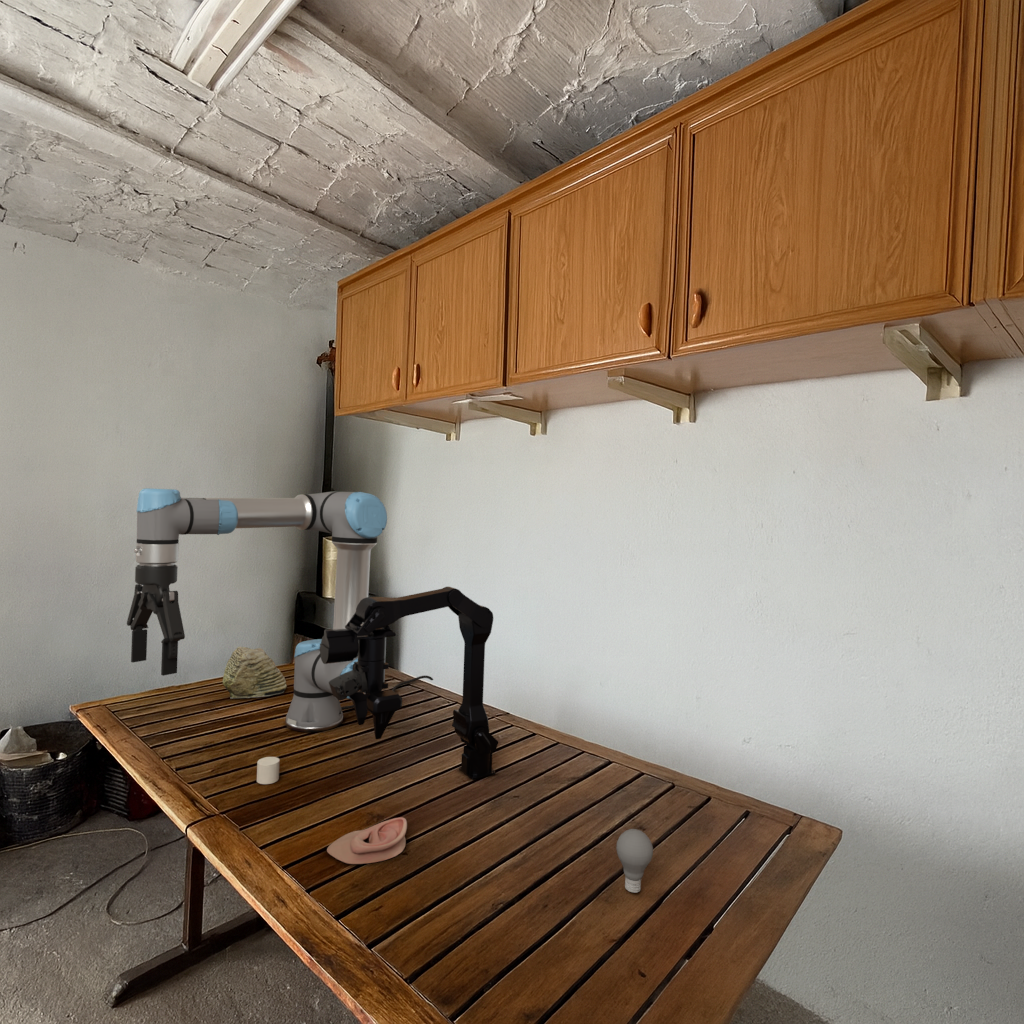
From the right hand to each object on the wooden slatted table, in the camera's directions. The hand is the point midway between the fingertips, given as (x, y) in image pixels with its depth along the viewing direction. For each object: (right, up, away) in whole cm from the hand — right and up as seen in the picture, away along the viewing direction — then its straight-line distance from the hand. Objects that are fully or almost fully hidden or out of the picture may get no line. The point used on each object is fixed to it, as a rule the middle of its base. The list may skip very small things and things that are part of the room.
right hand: (369, 731), depth 134 cm
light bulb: (+50, -17, -28) cm, 60 cm away
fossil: (-50, -11, +64) cm, 82 cm away
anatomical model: (+4, -15, -19) cm, 24 cm away
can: (-24, -13, +7) cm, 28 cm away
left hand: (-43, +15, -4) cm, 46 cm away
